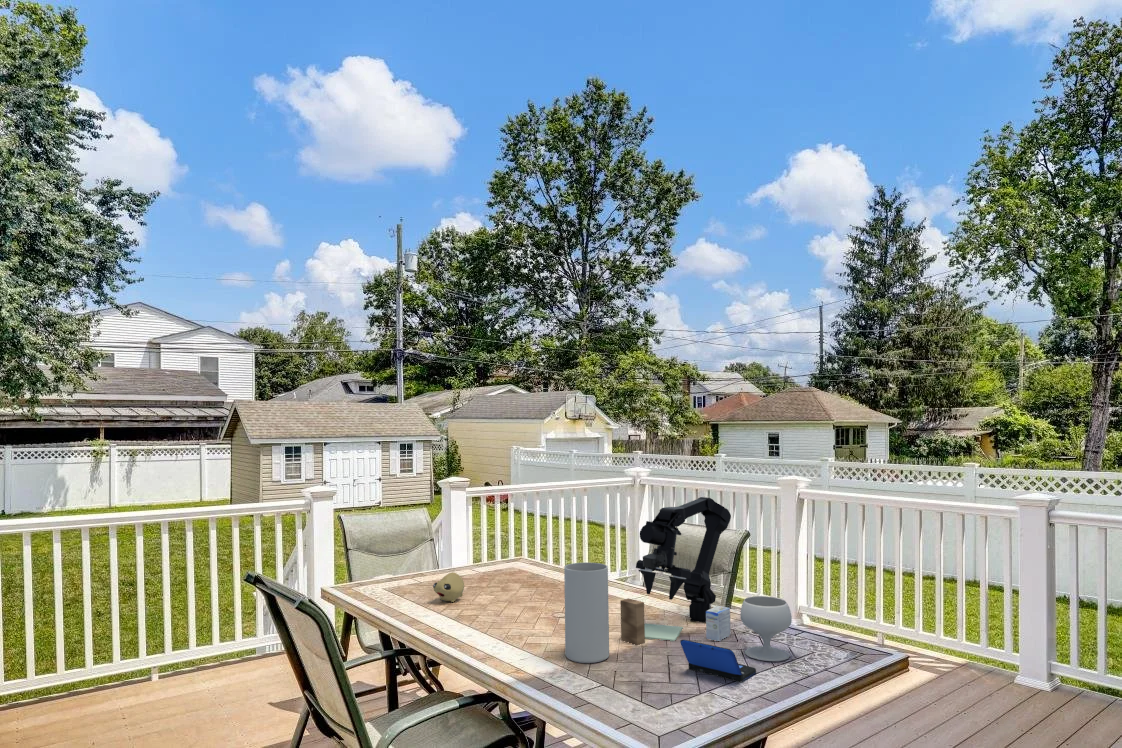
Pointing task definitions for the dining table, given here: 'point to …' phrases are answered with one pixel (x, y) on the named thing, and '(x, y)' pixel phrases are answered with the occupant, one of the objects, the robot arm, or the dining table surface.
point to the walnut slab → (632, 621)
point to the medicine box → (717, 623)
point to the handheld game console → (715, 661)
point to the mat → (662, 632)
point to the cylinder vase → (586, 612)
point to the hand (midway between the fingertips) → (659, 596)
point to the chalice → (766, 624)
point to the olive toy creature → (449, 587)
